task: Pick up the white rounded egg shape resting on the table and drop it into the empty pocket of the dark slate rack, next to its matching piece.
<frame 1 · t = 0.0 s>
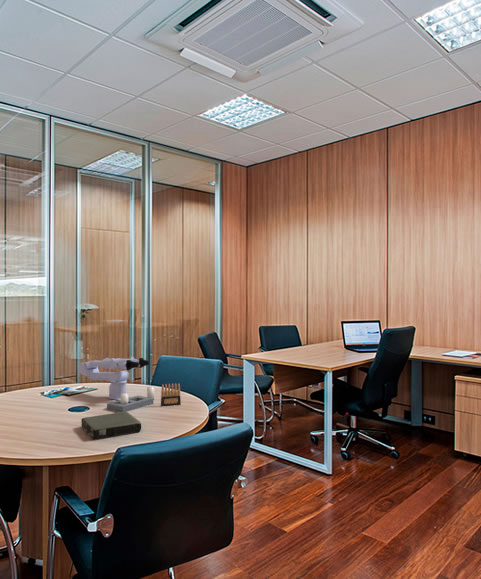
hand: (143, 363, 242), 22 cm above the table, tool horizontal, fingers open, 7 cm apart
slate rack: (130, 406, 235), on the table
network switch: (111, 431, 194), on the table
white rounded egg shape: (150, 399, 250), on the table
ammunition clip: (170, 405, 238), on the table
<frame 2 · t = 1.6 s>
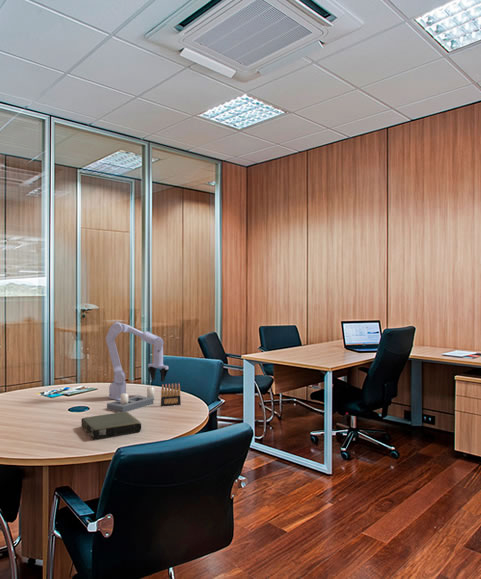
hand: (158, 380, 258), 9 cm above the table, tool pointing down, fingers open, 7 cm apart
nothing on the table moved.
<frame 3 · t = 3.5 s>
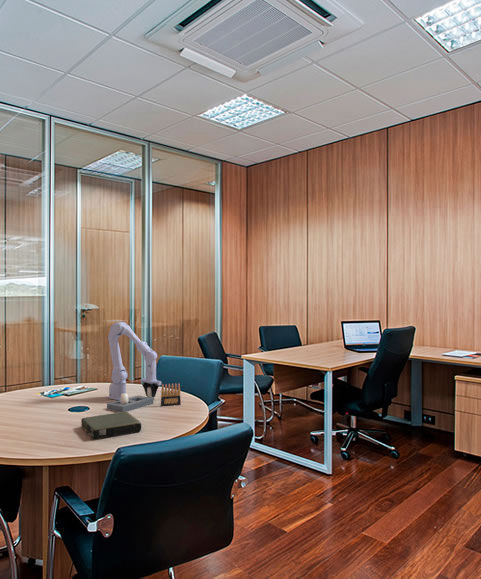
hand: (150, 396, 250), 2 cm above the table, tool pointing down, fingers closed on white rounded egg shape, 4 cm apart
white rounded egg shape: (150, 399, 250), on the table, touching gripper
everything else where it was.
when the fingers open (4 cm above the table, at t = 7.4 s): white rounded egg shape drops 1 cm, resting on slate rack.
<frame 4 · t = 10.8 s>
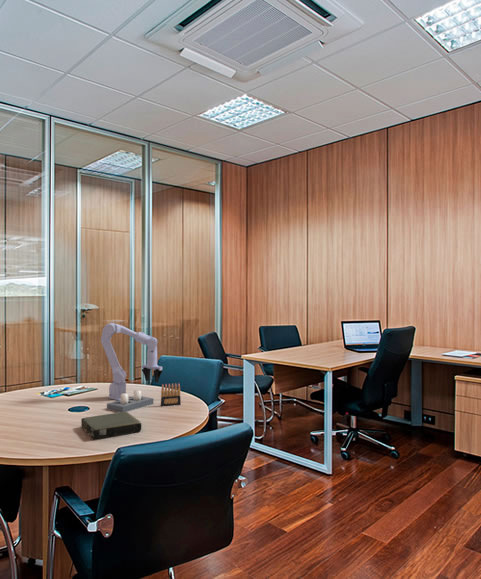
hand: (152, 381, 255), 9 cm above the table, tool pointing down, fingers open, 7 cm apart
white rounded egg shape: (137, 403, 239), point 1 cm above the table, touching slate rack
everything else where it was.
at the end: white rounded egg shape 0.2 cm from the target spot on the slate rack, point 0.5 cm above the slate rack's base; white rounded egg shape tilted 1°; the gripper is holding nothing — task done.
